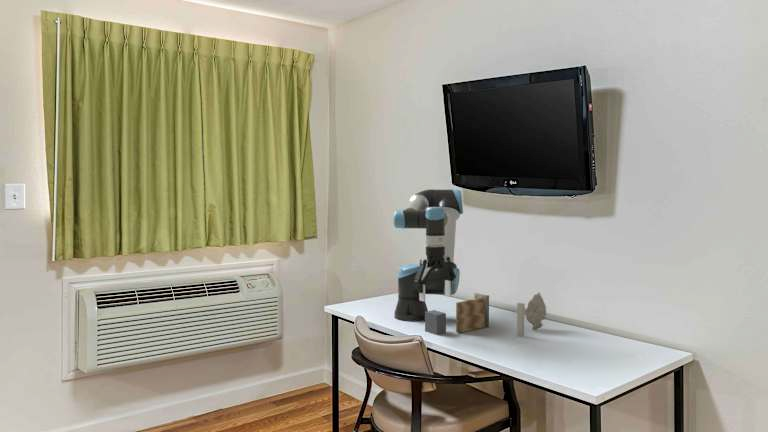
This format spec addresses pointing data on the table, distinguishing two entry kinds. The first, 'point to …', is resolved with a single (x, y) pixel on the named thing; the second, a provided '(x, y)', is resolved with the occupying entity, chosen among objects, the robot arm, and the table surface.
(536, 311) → the stone tool
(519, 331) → the door frame
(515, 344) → the table surface
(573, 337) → the table surface
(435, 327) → the block
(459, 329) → the door
